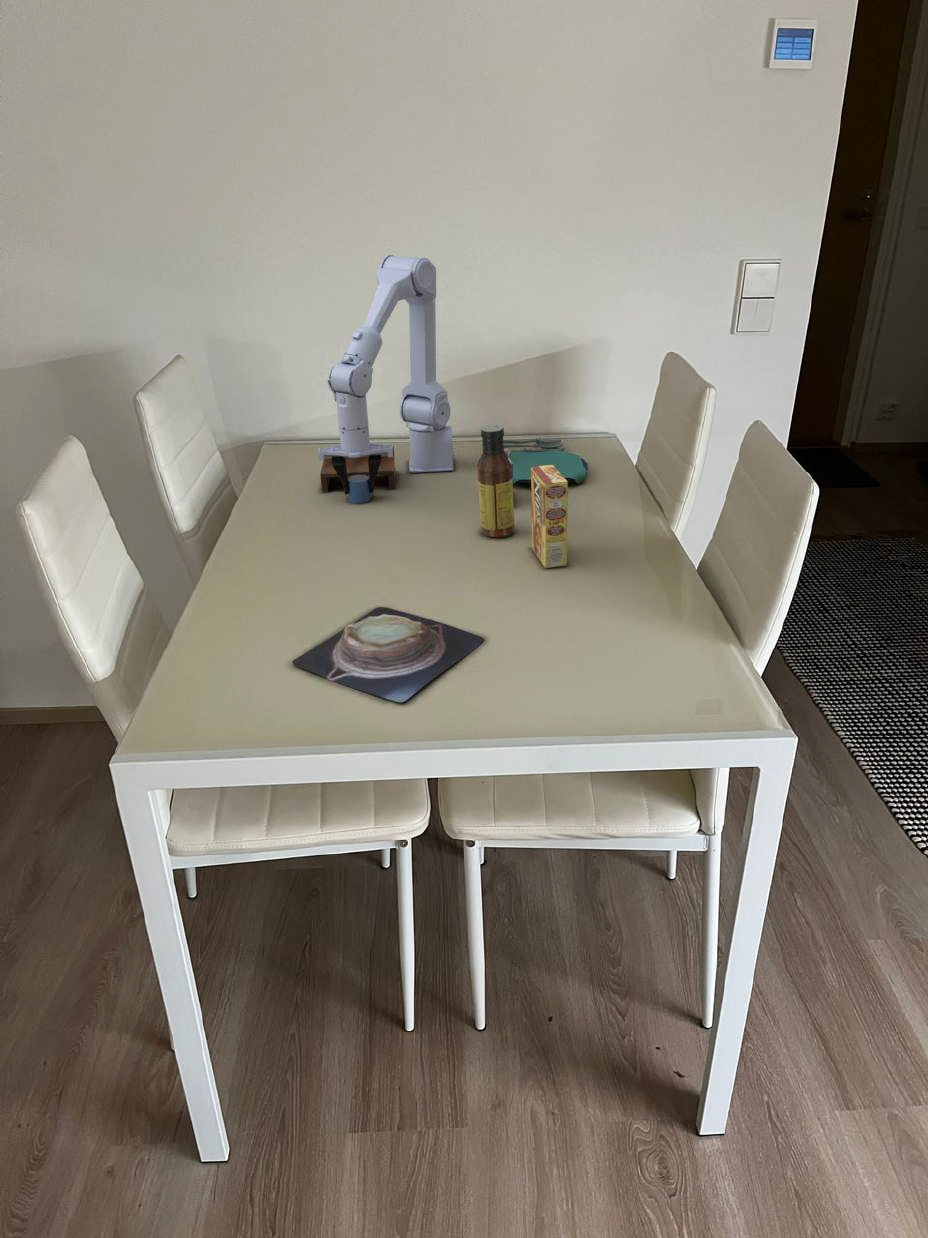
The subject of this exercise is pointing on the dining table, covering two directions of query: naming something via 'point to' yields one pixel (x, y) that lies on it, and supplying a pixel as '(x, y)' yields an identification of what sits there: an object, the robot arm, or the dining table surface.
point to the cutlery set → (545, 460)
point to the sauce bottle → (495, 484)
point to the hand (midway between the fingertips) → (359, 491)
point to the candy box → (549, 515)
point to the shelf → (358, 469)
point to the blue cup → (359, 488)
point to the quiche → (389, 653)
